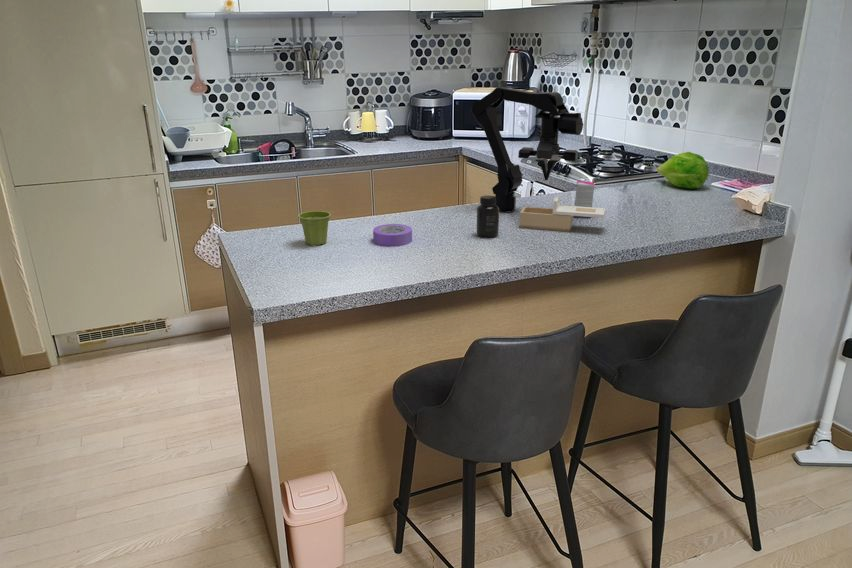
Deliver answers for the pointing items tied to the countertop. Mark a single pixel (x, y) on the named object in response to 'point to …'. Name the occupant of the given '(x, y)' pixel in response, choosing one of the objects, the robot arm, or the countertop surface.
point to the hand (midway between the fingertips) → (546, 180)
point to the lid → (577, 210)
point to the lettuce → (685, 170)
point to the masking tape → (392, 235)
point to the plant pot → (315, 226)
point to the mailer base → (544, 219)
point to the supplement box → (584, 195)
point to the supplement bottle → (487, 217)
